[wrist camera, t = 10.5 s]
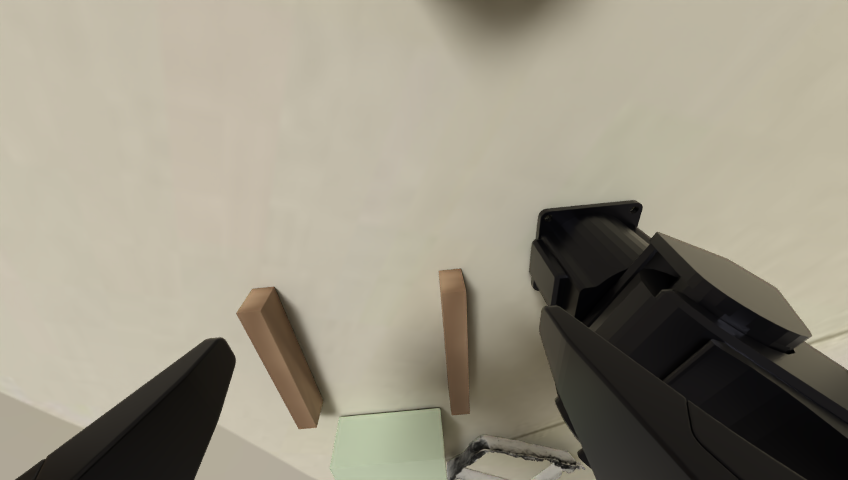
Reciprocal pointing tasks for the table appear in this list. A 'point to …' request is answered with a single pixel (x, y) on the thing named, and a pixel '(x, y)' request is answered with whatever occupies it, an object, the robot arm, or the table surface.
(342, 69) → the table surface
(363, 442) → the block
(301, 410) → the chute rails
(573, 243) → the robot arm
